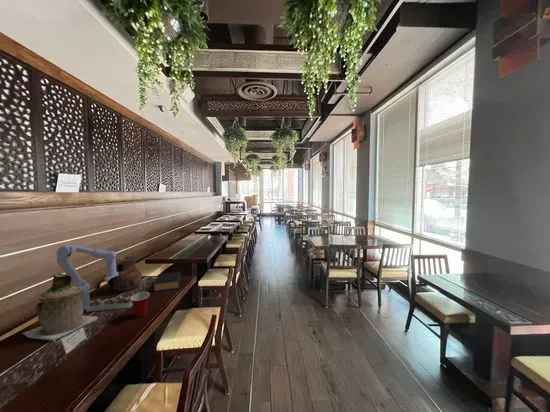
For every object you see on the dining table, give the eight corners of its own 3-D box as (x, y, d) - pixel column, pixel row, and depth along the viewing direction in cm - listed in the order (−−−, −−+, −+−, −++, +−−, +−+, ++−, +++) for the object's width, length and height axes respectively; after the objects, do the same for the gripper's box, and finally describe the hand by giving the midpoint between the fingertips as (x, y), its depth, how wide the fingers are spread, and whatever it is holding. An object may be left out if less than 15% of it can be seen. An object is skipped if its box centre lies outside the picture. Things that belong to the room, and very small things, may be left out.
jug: (117, 285, 202) (115, 256, 202) (144, 282, 209) (143, 253, 208) (107, 295, 181) (105, 262, 180) (138, 291, 188) (137, 259, 187)
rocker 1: (90, 305, 156) (89, 302, 156) (93, 303, 159) (92, 300, 159) (98, 303, 157) (97, 300, 157) (101, 301, 160) (100, 297, 160)
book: (180, 279, 215) (180, 271, 215) (178, 289, 191) (177, 280, 191) (159, 281, 210) (159, 274, 209) (154, 292, 186) (153, 283, 186)
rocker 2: (104, 304, 158) (103, 300, 157) (107, 301, 161) (106, 298, 161) (112, 302, 158) (112, 298, 158) (115, 300, 162) (114, 296, 162)
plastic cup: (128, 320, 143) (127, 300, 143) (134, 311, 154) (133, 293, 153) (148, 317, 146) (147, 297, 145) (152, 309, 156) (151, 291, 156)
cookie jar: (99, 319, 145) (96, 267, 144) (52, 343, 121) (48, 281, 120) (70, 315, 152) (66, 265, 150) (19, 337, 128) (15, 278, 127)
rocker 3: (118, 301, 159) (119, 298, 159) (120, 299, 162) (121, 295, 162) (126, 302, 160) (127, 299, 160) (128, 300, 163) (129, 297, 163)
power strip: (86, 312, 155) (85, 304, 155) (93, 306, 163) (92, 299, 163) (130, 307, 160) (129, 300, 159) (134, 302, 167) (134, 295, 167)
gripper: (112, 271, 160) (113, 291, 161) (122, 265, 175) (123, 284, 175) (100, 272, 159) (102, 292, 160) (111, 266, 173) (112, 284, 174)
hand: (112, 288), depth 167 cm, fingers closed
